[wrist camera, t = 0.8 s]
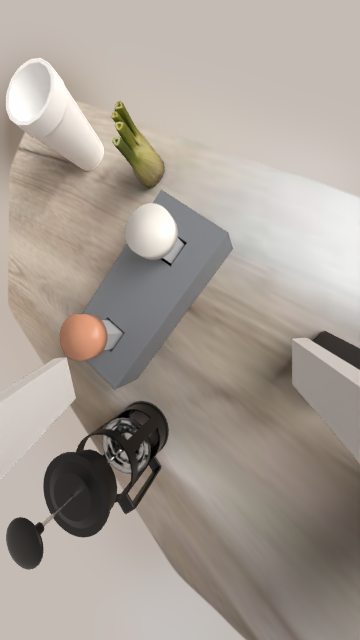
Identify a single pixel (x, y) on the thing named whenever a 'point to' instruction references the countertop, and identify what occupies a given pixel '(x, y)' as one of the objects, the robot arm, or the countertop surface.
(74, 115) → the foam cup
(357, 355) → the phone stand
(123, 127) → the fennel bulb
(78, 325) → the orange ball knob
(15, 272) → the countertop surface
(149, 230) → the white rounded knob
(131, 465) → the french press
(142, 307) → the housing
